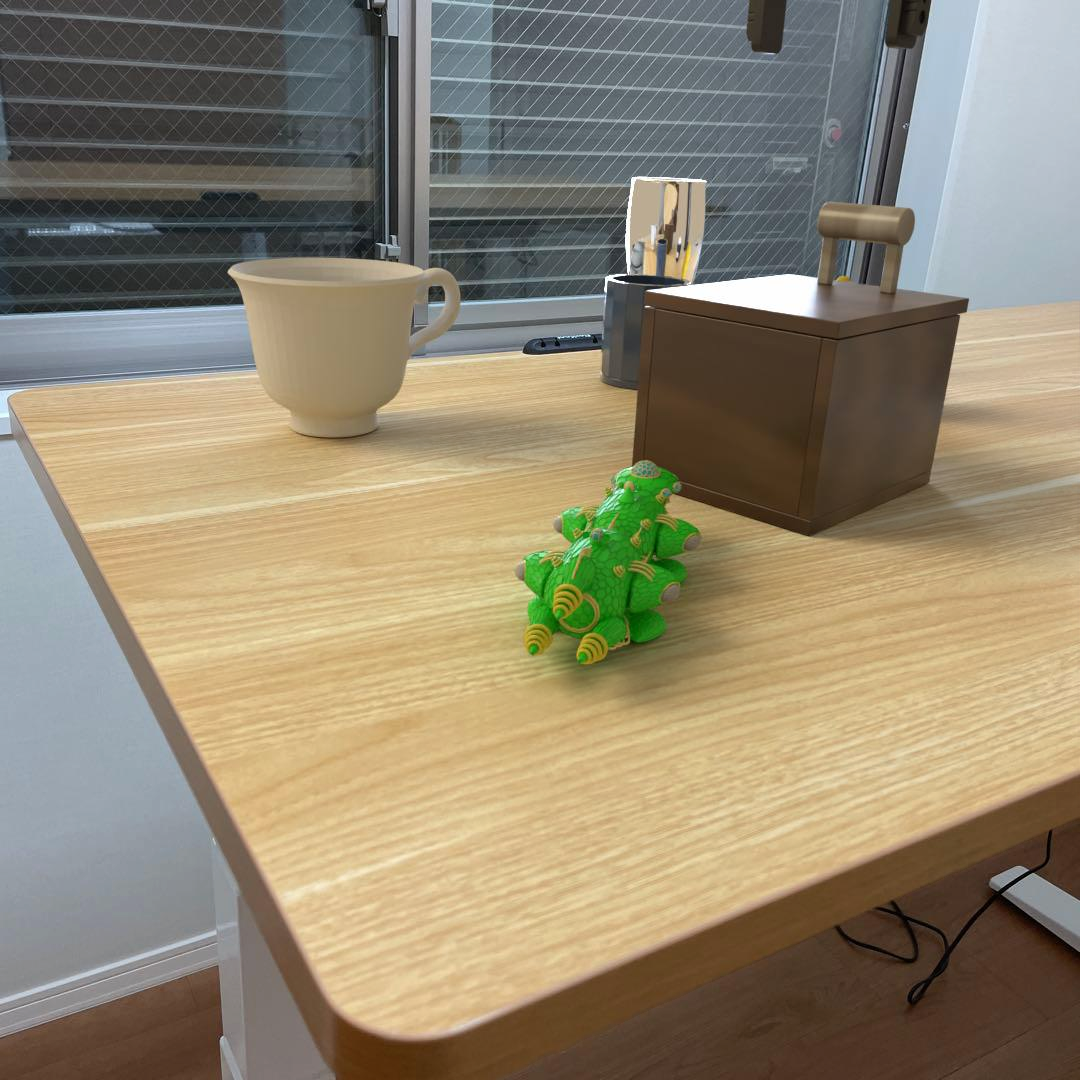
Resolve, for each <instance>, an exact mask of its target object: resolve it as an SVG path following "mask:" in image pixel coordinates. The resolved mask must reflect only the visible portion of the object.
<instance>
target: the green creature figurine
mask: <svg viewBox="0 0 1080 1080" xmlns="http://www.w3.org/2000/svg"><path fill="white" fill-rule="evenodd" d="M610 484H611V487H610V486H607V487H604V489H603V492H604V495H605V497H606V498H605V499H604V500H603V501H602V502H601V504H600V505H597V504H590V505H586V506H575V507H570V508H568V509H565V510H563V511H562V512H561V513H559V515H558V516H556V517H555V518H554V520H553V522H552V526H553V529H554V531H555V532H557V533H559V534H561V535H562V536H563V537H564V539H566V540H567V541H568V542H569V543H570V544H571V545H570V546H569V548H567V550H563V549H554V550H540V551H536V552H533V553H529V554H528V555H526V556H524V558H523V559H522V560H521V561H520V562H519V563H517V564H516V566H515V568H514V575H515V576H516V579H518V580H519V581H521V582H523V583H524V584H525V586H526V587H527V588H528V589H529V590H530V591H531V592H532V593H533V594H535V596H534V597H533V598H531V600H530V602H528V605H527V611H526V612H527V615H528V618H529V622H528V624H527V625H526V630H525V631H524V634H523V641H524V649H525V651H526V652H527V653H528V654H529V655H530V656H532V657H533V656H534V657H536V656H539V655H542V654H543V653H544V652H545V651H546V650H548V648H550V647H551V646H552V643H553V635H555V633H556V632H557V631H558V630H559V631H560V632H562V633H563V634H565V635H566V636H570V637H572V638H575V639H579V640H581V641H580V643H579V646H578V648H577V651H576V660H577V663H578V664H581V665H592V664H594V663H596V662H598V661H602V660H603V659H605V657H606V656H607V655H608V651H609V650H611V651H613V650H615V649H617V648H621V647H623V646H627V645H628V644H630V643H631V641H633V642H634V643H645V642H648V641H649V642H650V641H652V640H654V639H656V638H658V637H660V636H661V635H663V634H664V633H665V630H666V628H667V622H666V620H665V618H664V616H663V615H662V614H661V613H660V612H658V611H656V610H654V609H655V608H657V607H659V606H662V605H664V604H668V603H672V602H674V601H675V600H677V599H678V597H679V596H680V593H681V588H682V585H681V583H683V582H684V581H685V580H686V578H687V576H688V571H687V568H686V566H685V565H684V564H683V563H682V562H680V561H679V560H677V559H673V558H672V557H675V556H679V555H681V554H683V553H686V552H689V551H693V550H697V548H698V547H699V546H700V544H701V540H702V535H701V532H700V530H699V529H698V528H697V527H696V526H695V525H693V524H692V523H690V522H688V521H686V520H683V519H680V518H676V517H673V516H671V515H669V511H667V508H666V507H667V505H668V504H670V502H671V501H670V500H671V499H670V497H671V496H673V495H674V494H675V493H677V492H679V491H680V490H681V487H682V486H681V484H680V483H679V481H678V477H677V476H676V475H674V474H672V473H671V472H669V471H667V470H666V469H663V468H659V467H657V466H656V465H655V464H654V463H653V462H651V461H648V460H643V461H639V462H637V463H636V464H635V465H634V466H632V465H631V466H628V467H626V468H623V469H622V470H620V471H618V472H617V473H616V474H612V475H611V477H610ZM654 556H655V558H656V559H657V560H655V559H654V558H653V557H654ZM626 639H627V640H626ZM625 640H626V641H625Z"/></svg>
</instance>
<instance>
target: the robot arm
mask: <svg viewBox="0 0 1080 1080" xmlns="http://www.w3.org/2000/svg"><path fill="white" fill-rule="evenodd" d="M787 3H788V0H749V1H748V11H747V13H748V14H747V23H746V30H745V31H746V32H745V33H746V38H747V41H748V42H749V43H750V48H751V51H752V52H753V53H755V54H761V55H778V54H779V53H781V51H782V47H783V39H784V30H785V22H786V12H787V5H788V4H787ZM931 3H932V0H889V5H888V13H887V20H886V27H885V33H884V34H885V35H884V42H885V43H884V44H885V47H886V48H890V49H896V50H913V48H915V45H916V43H917V38H918V37H923V35H924V33H925V32H926V29H927V27H928V23H929V17H930V11H931Z"/></svg>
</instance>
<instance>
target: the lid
mask: <svg viewBox="0 0 1080 1080" xmlns="http://www.w3.org/2000/svg"><path fill="white" fill-rule="evenodd" d="M816 223H817V225H816V227H817V232H818V234H819V236H820V237H821V238H822V244H821V250H820V251H821V252H820V259H819V265H818V266H819V267H818V273H817V277H813V276H806V275H798V274H790V273H789V274H779V275H771V276H763V277H754V278H744V279H736V280H727V281H726V280H725V281H719V282H710V283H701V284H693V285H691V286H682V287H673V288H664V289H656V290H647V291H645V300H644V305H645V306H650V307H655V308H661V309H667V310H673V311H678V312H684V313H690V314H696V315H701V316H707V317H713V318H719V319H724V320H730V321H736V322H742V323H747V324H753V325H759V326H765V327H770V328H776V329H782V330H787V331H793V332H799V333H805V334H810V335H816V336H822V337H828V338H833V339H840V338H845V337H850V336H855V335H859V334H864V333H869V332H874V331H879V330H884V329H889V328H893V327H898V326H903V325H908V324H913V323H918V322H923V321H928V320H932V319H937V318H942V317H947V316H952V315H962V314H966V313H967V312H968V307H969V302H970V298H969V297H963V296H954V295H947V294H940V293H933V292H925V291H918V290H911V289H910V290H909V289H902V288H898V284H899V283H898V282H899V276H900V271H901V264H902V258H903V252H904V246H906V245H907V244H908V243H909V242H910V240H911V238H912V236H913V234H914V231H915V226H916V215H915V212H914V210H913V209H912V208H911V207H902V206H889V205H879V204H875V205H874V204H864V203H851V202H841V201H840V202H839V201H827V202H825V203H824V204H823V205H822V207H821V208H820V210H819V213H818V215H817V222H816ZM839 240H845V241H853V242H854V241H855V242H863V243H873V244H883V245H886V248H885V253H884V254H885V255H884V261H883V268H882V274H881V280H880V285H872V284H865V283H858V282H854V283H851V282H843V281H836V280H837V279H836V280H835V279H834V277H835V270H836V262H837V255H838V248H839Z"/></svg>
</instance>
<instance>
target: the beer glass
mask: <svg viewBox="0 0 1080 1080" xmlns="http://www.w3.org/2000/svg"><path fill="white" fill-rule="evenodd" d="M706 186H707V181H706V180H702V179H693V178H692V179H691V178H675V177H654V176H653V177H650V176H649V177H648V176H637V177H636V176H635V177H632V178H631V187H630V193H629V194H630V195H629V201H628V208H627V218H626V229H625V231H626V233H625V250H626V251H625V252H626V264H627V273H628V274H641V275H659V276H669V277H676V278H682V279H685V280H689V281H690V282H691V283H692V284H691V285H694V282H695V278H696V274H697V271H698V266H699V262H700V259H701V253H702V248H703V243H704V235H705V223H706V188H707V187H706Z"/></svg>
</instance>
